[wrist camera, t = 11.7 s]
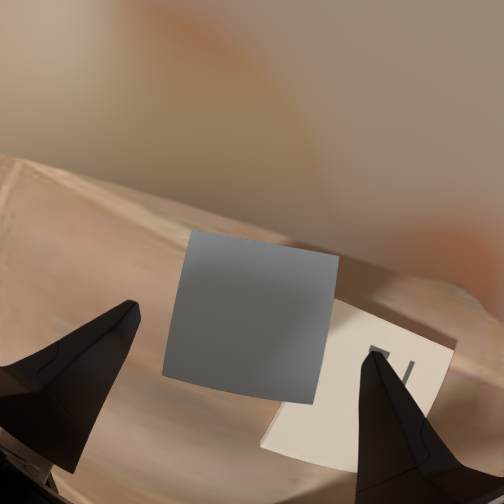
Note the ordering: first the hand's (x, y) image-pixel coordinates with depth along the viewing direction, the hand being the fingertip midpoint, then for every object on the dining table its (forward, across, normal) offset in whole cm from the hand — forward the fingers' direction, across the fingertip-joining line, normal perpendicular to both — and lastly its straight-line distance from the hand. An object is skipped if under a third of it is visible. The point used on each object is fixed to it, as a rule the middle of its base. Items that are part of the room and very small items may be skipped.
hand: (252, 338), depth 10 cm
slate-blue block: (+7, 0, +6) cm, 10 cm away
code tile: (+4, -10, +10) cm, 14 cm away
